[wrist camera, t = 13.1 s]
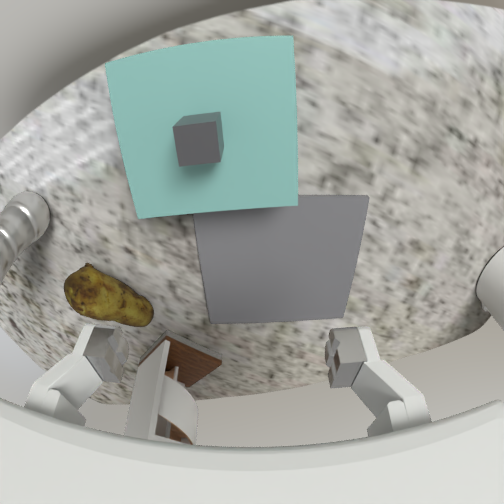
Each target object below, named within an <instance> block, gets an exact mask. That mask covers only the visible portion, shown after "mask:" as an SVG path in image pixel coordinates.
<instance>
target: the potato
mask: <svg viewBox="0 0 504 504" xmlns="http://www.w3.org/2000/svg"><path fill="white" fill-rule="evenodd" d="M85 264H86V265H85V266H84V267H82V268H80V269H79V270H78V271H76V272H74V273H72V274H71V275H70V276H68V278H67V279H66V280H65V283H64V292H65V296H66V299H67V301H68V303H69V304H70V306H71V307H72V308H73V309H74V310H75V311H76V312H77V313H79V314H80V315H84V316H87V317H90V318H93V319H97V320H105V321H116V322H118V323H121V324H125V325H129V326H134V327H144V326H146V325H148V324H149V323H150V322H151V320H152V318H153V315H154V310H153V307H152V305H151V304H150V302H149V301H148V300H147V299H146V298H145V297H143V296H140V295H138V294H137V293H136V292H135V291H134V290H132V289H131V288H130V287H129V286H127V285H126V284H125V283H123V282H121V281H119V280H117V279H115V278H113V277H110V276H108V275H106V274H104V273H102V272H100V271H98V270H96V269H94V268H93V266H91V264H89V263H85Z"/></svg>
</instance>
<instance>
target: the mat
mask: <svg viewBox="0 0 504 504" xmlns="http://www.w3.org/2000/svg"><path fill="white" fill-rule="evenodd" d="M368 203H369V197H368V195H298V206H282V207H267V208H252V209H239V210H226V211H214V212H203V213H193V219H194V226H195V232H196V239H197V246H198V252H199V259H200V265H201V271H202V277H203V283H204V289H205V295H206V300H207V306H208V311H209V317H210V322H211V324H228V323H263V322H285V321H303V320H318V319H332V318H343V316H344V312H345V308H346V305H347V301H348V297H349V293H350V289H351V285H352V281H353V276H354V272H355V268H356V263H357V259H358V254H359V250H360V245H361V240H362V235H363V230H364V225H365V220H366V214H367V208H368Z"/></svg>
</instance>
